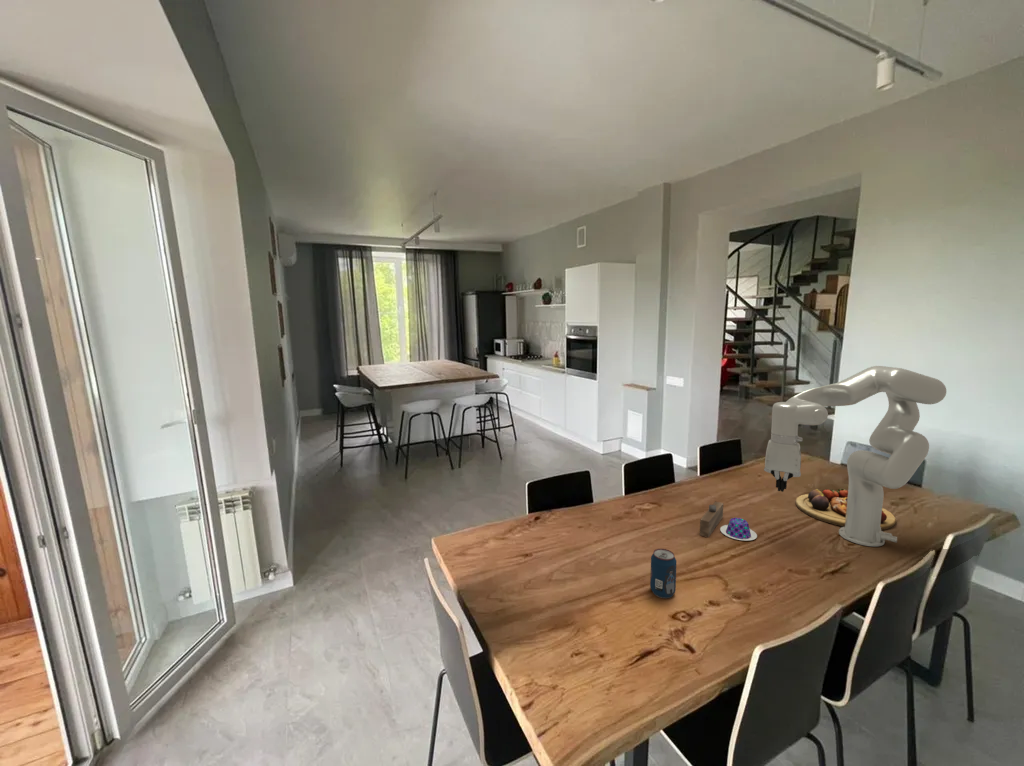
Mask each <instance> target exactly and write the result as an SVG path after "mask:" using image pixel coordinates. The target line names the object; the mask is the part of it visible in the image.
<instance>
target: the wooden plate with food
mask: <svg viewBox="0 0 1024 766" xmlns="http://www.w3.org/2000/svg"><path fill="white" fill-rule="evenodd" d="M847 498H848V490H847V489H844V488H840V489H837V490H834V489H833V488H832V489H828V488H826V489H823V490H820V489H818V488H816V489H813V490H811V491H809V492H808V493H806V494H802V495H799V496H797V497H796V498H795V506H796V507H797V509H798V510H800V511H801V512H803V513H804V514H805V515H807V516H810V517H812V518H814V519H817V520H818V521H822V522H825V523H828V524H831V525H835V526H840V527H845V519H846V508H847ZM896 523H897V518H896V517H895V516H894V514H893V513H892V512H891V511H889V510H888V509H886V508H884V507H882V514H881V524H880V527H881V531H884V530H887V529H891V528H892V527H894V526H895V525H896Z"/></svg>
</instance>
